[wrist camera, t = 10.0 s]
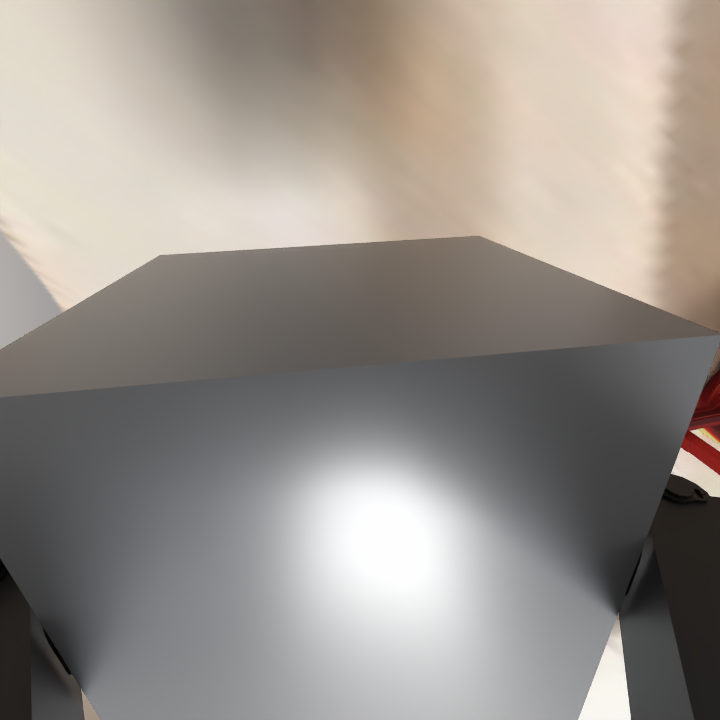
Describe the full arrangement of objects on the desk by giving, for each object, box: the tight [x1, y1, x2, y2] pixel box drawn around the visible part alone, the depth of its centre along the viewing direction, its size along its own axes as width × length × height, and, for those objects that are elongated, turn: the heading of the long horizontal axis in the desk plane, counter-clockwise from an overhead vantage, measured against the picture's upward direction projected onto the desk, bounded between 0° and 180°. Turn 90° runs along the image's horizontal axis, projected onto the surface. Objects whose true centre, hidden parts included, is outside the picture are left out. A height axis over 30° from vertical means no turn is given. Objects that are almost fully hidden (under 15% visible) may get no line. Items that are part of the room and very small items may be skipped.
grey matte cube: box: [0, 236, 720, 720], centre depth 11 cm, size 10×10×9 cm
